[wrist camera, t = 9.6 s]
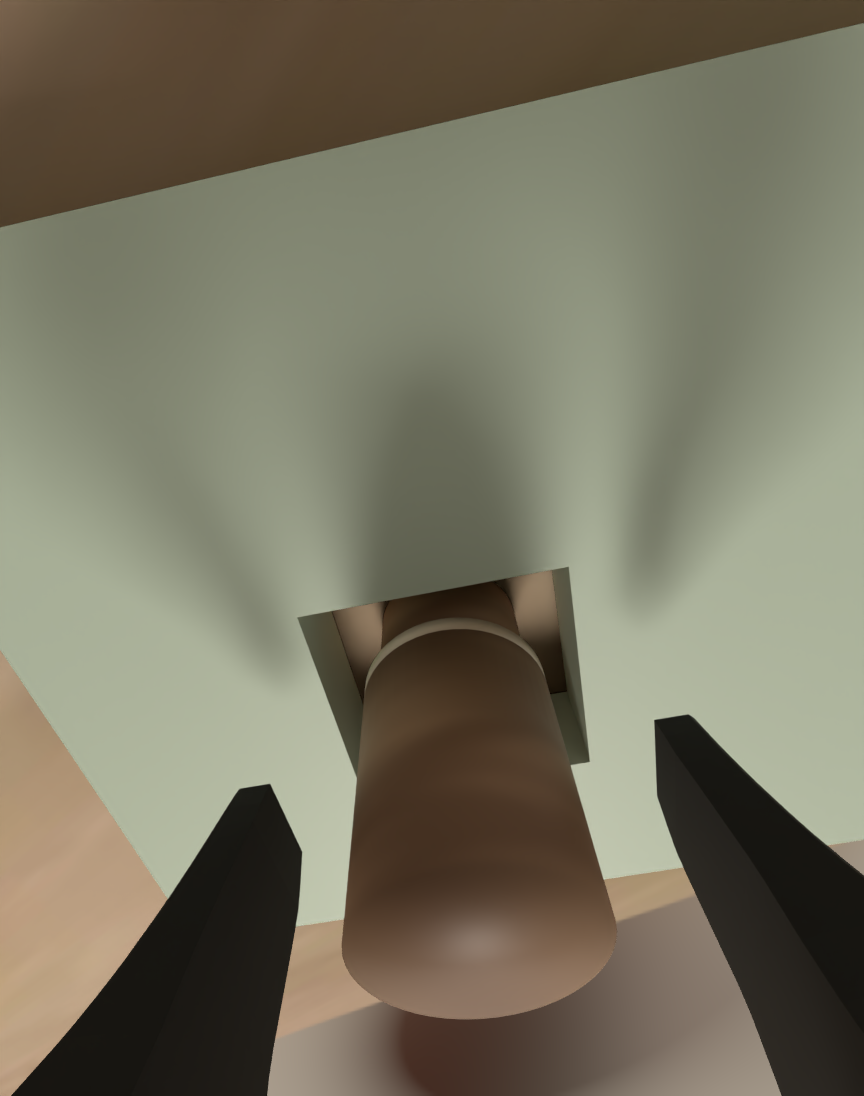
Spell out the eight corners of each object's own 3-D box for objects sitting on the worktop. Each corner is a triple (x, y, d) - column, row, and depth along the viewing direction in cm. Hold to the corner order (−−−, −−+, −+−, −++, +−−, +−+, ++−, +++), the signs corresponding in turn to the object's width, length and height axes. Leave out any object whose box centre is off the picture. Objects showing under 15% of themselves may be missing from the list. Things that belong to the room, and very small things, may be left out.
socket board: (981, 10, 10) (1133, -41, 8) (849, 760, 19) (907, 832, 17) (-123, 270, 12) (-246, 285, 10) (219, 862, 20) (196, 941, 18)
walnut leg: (517, 545, 15) (612, 841, 8) (533, 672, 17) (621, 1001, 10) (355, 572, 15) (309, 883, 8) (388, 695, 17) (375, 1032, 10)
